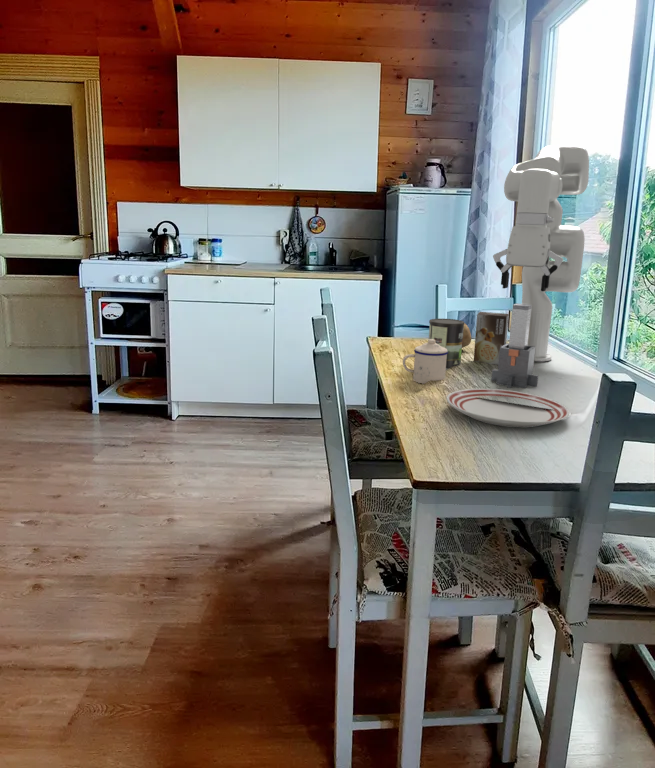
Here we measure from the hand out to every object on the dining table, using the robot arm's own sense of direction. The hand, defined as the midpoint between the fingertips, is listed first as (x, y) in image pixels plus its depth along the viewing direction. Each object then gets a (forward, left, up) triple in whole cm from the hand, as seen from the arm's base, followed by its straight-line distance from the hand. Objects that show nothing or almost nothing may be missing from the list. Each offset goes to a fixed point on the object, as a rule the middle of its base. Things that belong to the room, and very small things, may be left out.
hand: (523, 289), depth 165 cm
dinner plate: (+26, +4, -27) cm, 37 cm away
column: (0, 0, -25) cm, 25 cm away
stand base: (0, 0, -26) cm, 26 cm away
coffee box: (-24, -13, -27) cm, 38 cm away
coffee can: (-13, -24, -27) cm, 38 cm away
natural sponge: (-42, -29, -27) cm, 58 cm away
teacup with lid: (+7, -23, -27) cm, 36 cm away
